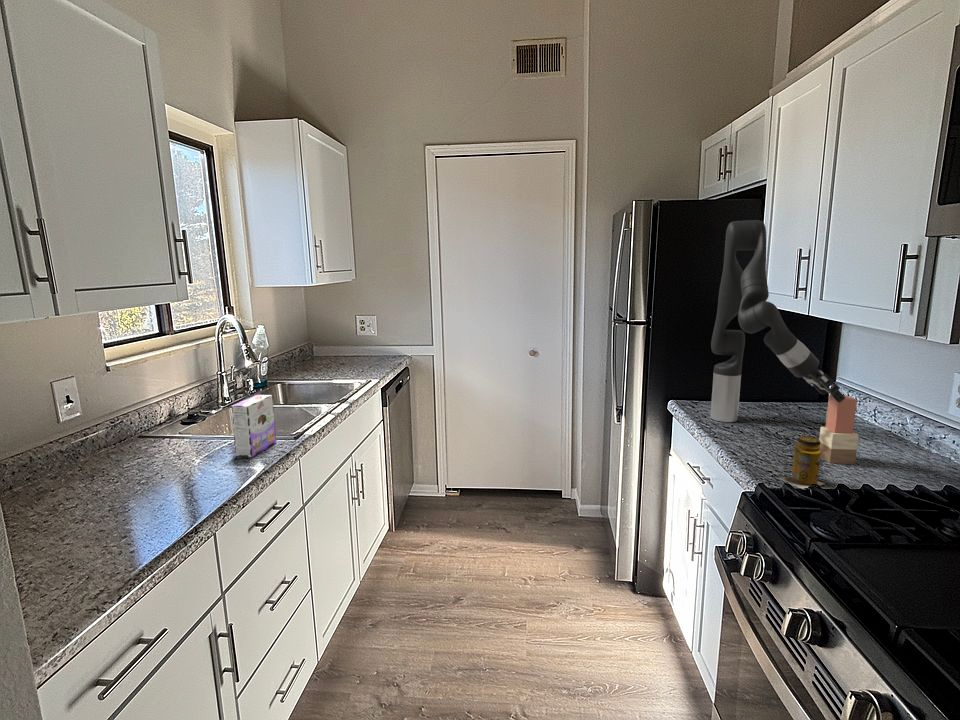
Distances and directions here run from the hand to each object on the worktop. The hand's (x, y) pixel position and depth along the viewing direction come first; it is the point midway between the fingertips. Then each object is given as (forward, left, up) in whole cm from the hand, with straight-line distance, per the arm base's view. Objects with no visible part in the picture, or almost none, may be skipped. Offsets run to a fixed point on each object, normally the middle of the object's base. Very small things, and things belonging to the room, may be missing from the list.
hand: (833, 396), depth 158 cm
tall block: (-1, +2, -10) cm, 11 cm away
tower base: (-1, +2, -19) cm, 19 cm away
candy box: (+62, -163, -19) cm, 176 cm away
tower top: (-1, +3, -15) cm, 15 cm away
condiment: (+22, -8, -19) cm, 31 cm away
